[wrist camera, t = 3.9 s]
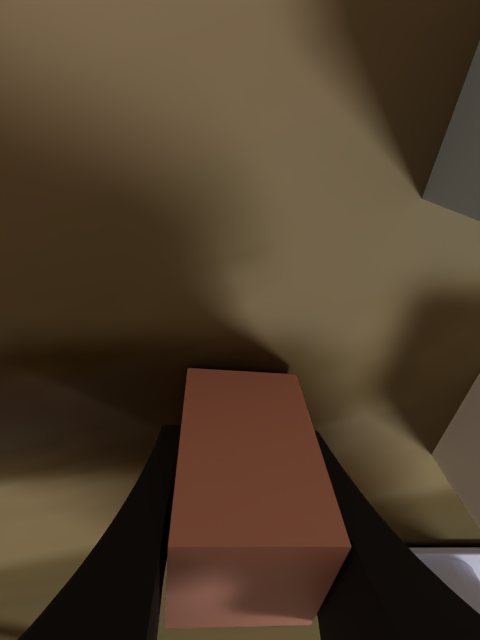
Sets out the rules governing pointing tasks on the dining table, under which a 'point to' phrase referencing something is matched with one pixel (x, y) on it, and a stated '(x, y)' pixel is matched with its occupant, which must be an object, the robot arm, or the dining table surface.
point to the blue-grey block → (460, 153)
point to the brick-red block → (250, 506)
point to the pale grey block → (463, 452)
